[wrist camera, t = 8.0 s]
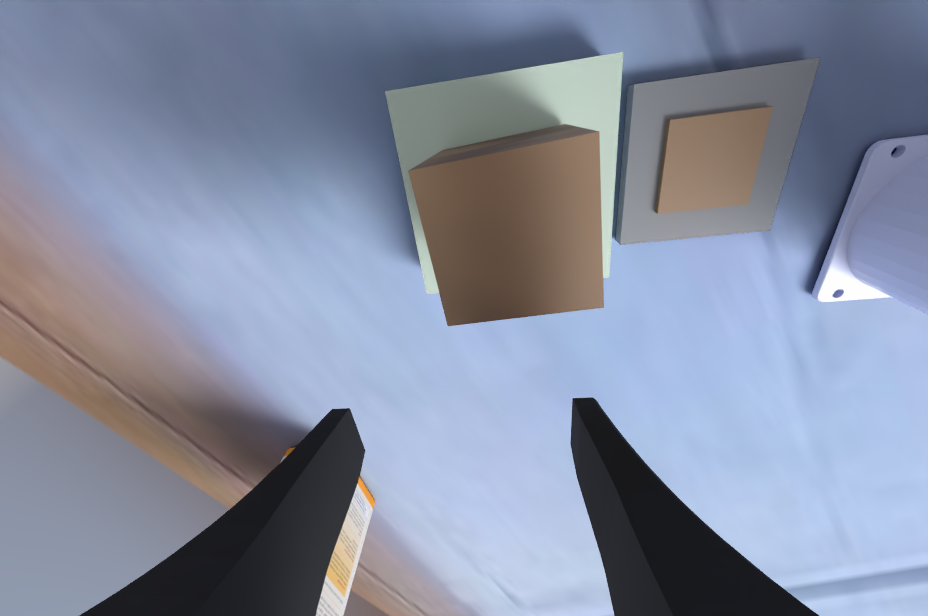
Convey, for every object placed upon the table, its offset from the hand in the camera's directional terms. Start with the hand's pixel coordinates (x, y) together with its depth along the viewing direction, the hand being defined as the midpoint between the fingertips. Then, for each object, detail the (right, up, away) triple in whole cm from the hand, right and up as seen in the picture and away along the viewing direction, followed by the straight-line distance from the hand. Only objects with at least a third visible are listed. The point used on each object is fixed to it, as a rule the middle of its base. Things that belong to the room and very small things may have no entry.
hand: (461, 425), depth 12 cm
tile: (+11, +11, +5) cm, 16 cm away
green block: (+2, +10, +7) cm, 12 cm away
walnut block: (+2, +9, +4) cm, 10 cm away
